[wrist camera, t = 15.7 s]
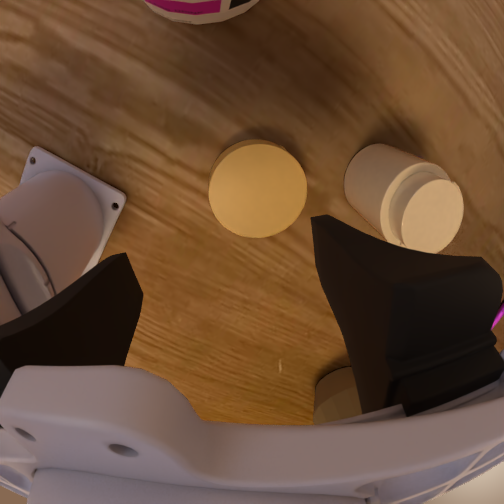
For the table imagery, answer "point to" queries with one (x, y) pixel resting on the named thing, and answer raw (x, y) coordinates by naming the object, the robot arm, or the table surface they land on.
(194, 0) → the supplement can
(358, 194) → the jar
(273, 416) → the table surface
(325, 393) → the squeeze bottle
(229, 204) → the lid
